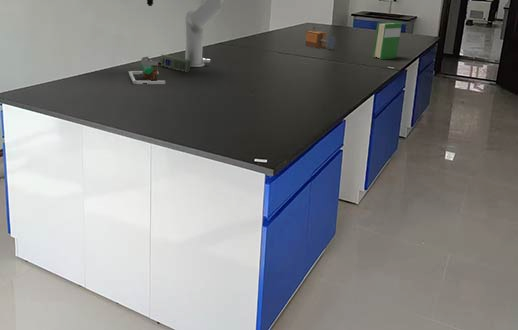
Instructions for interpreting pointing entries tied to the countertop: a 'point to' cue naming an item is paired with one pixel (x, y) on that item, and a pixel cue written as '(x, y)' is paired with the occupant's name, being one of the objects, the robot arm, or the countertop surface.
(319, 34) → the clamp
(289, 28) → the countertop surface
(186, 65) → the handheld radio
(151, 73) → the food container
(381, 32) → the hardback book
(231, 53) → the countertop surface
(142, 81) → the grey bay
